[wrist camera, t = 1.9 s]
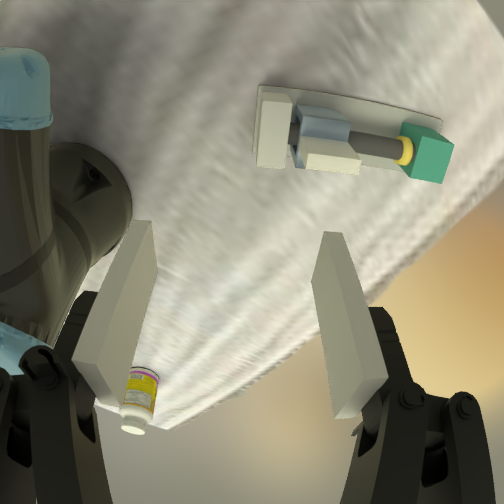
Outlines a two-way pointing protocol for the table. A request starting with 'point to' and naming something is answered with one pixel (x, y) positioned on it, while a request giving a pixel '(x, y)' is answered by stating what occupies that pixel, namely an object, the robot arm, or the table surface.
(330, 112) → the pale blue hollow box
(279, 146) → the slider rail
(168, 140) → the table surface
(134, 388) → the supplement bottle
